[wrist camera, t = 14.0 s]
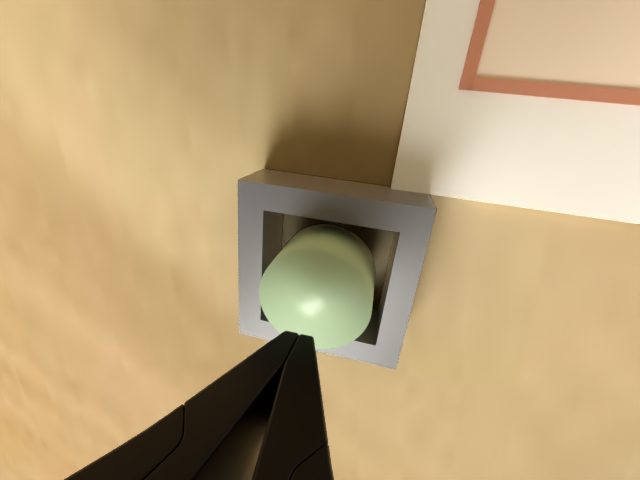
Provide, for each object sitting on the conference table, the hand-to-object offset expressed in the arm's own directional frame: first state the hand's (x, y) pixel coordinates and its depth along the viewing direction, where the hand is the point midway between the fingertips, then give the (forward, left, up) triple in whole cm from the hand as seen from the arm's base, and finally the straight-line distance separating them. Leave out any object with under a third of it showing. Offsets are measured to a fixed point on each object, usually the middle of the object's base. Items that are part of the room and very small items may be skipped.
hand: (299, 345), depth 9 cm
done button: (0, 0, -5) cm, 5 cm away
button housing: (0, 0, -6) cm, 6 cm away
